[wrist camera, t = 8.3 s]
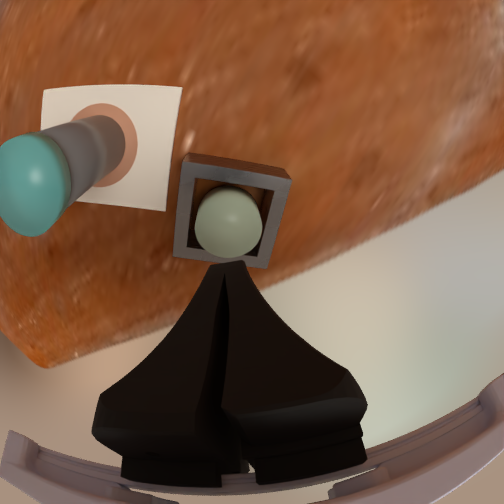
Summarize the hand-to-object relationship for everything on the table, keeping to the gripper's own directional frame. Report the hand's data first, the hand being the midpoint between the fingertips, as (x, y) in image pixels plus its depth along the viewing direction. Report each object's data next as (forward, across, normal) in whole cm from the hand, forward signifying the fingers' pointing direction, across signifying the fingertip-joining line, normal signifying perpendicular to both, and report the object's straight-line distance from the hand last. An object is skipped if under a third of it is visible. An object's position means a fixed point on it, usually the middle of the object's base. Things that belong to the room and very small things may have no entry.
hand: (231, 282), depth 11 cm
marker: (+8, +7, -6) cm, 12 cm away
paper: (+8, +7, -6) cm, 13 cm away
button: (+6, 0, 0) cm, 6 cm away
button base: (+8, 0, 0) cm, 8 cm away
